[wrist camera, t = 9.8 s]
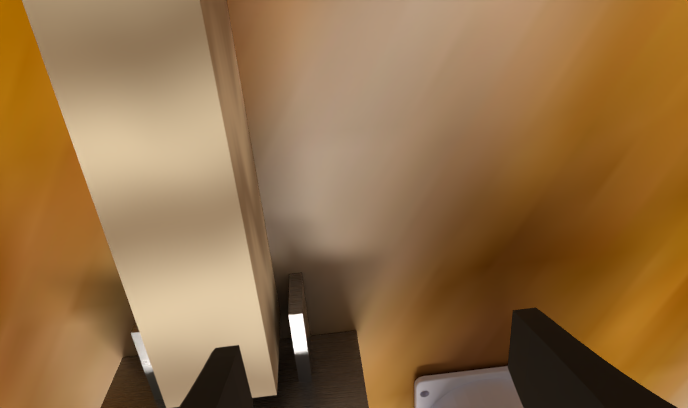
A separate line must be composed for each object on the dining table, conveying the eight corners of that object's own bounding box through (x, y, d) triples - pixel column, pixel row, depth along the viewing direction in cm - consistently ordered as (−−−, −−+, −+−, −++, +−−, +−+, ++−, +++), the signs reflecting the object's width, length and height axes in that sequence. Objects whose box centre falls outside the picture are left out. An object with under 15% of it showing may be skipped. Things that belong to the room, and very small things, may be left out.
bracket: (357, 339, 25) (369, 420, 21) (126, 366, 25) (88, 455, 20) (351, 267, 23) (364, 340, 19) (98, 294, 22) (49, 377, 18)
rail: (281, 315, 24) (277, 395, 20) (191, 325, 24) (166, 409, 19) (219, -43, 17) (190, -44, 12) (88, -32, 16) (11, -29, 12)
